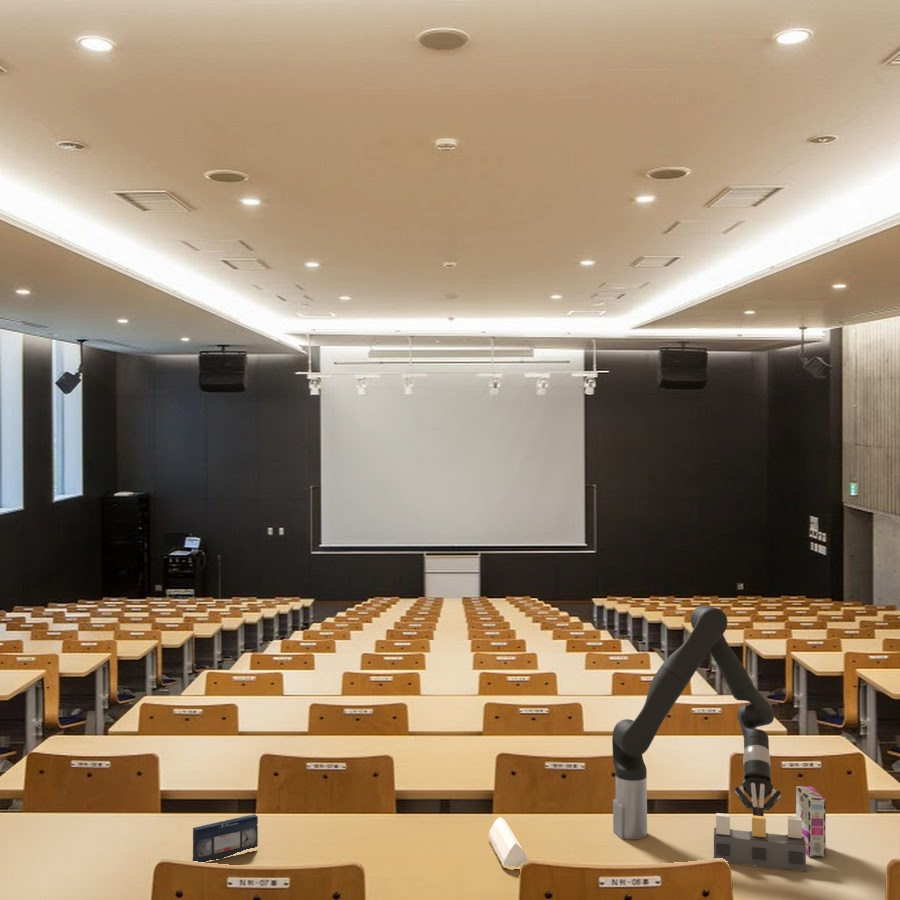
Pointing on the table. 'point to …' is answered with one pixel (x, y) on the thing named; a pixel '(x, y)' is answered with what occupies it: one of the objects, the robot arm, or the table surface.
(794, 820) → the switch right
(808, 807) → the candy bar box
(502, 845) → the crystal
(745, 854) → the power strip
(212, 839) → the vhs cassette tape
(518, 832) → the table surface
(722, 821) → the switch left
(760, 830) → the switch middle
